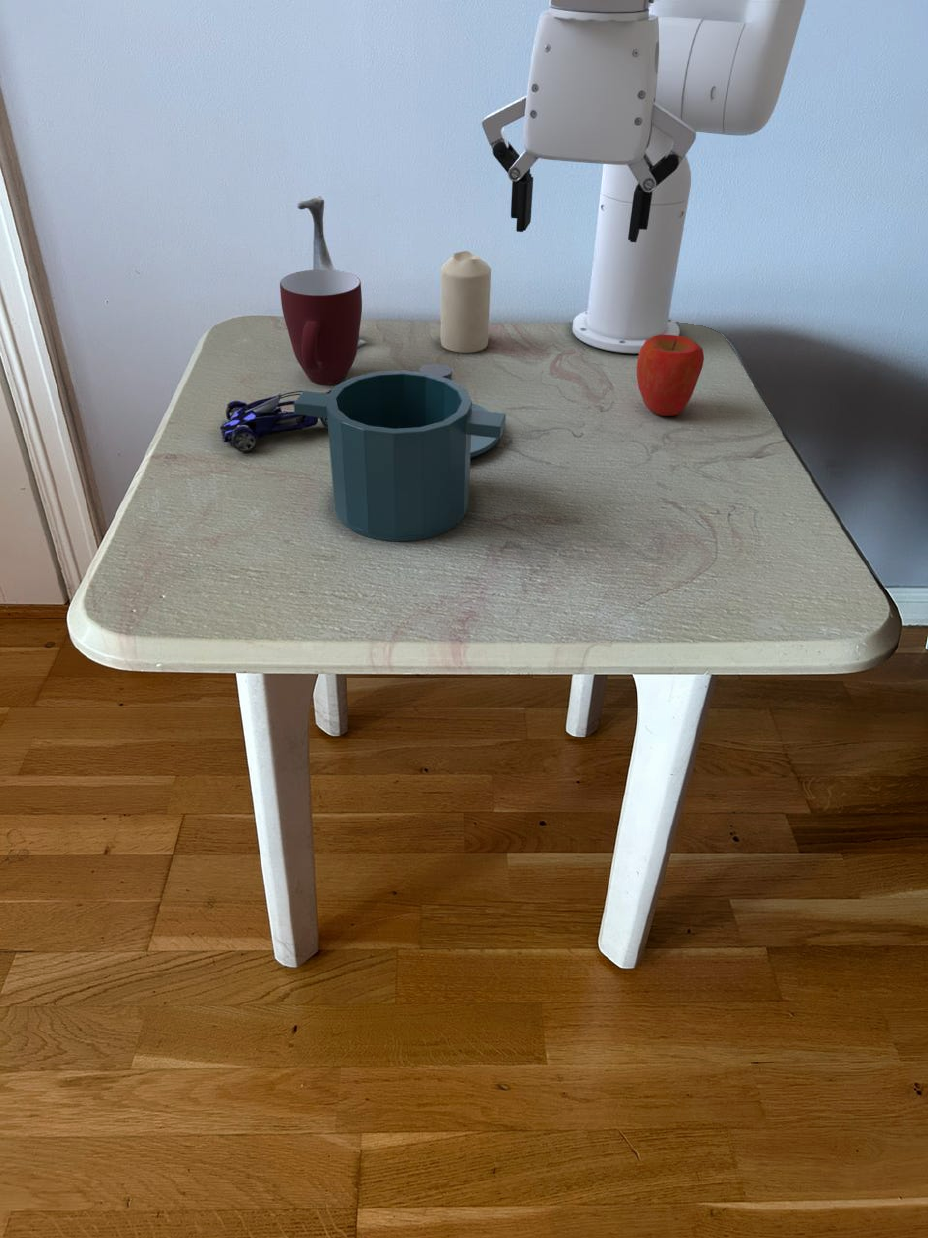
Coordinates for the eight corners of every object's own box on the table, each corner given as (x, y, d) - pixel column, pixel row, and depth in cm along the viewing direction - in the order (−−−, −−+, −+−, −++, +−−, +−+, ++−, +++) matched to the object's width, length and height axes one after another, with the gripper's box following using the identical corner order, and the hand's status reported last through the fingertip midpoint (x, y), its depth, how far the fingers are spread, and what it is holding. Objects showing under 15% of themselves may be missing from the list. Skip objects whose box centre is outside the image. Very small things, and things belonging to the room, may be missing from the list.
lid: (389, 401, 91) (387, 338, 87) (509, 415, 89) (513, 351, 85) (353, 458, 82) (349, 390, 77) (487, 475, 80) (490, 406, 76)
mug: (361, 404, 90) (356, 305, 84) (281, 403, 90) (269, 304, 84) (367, 362, 99) (363, 269, 92) (294, 361, 98) (285, 268, 92)
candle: (495, 349, 102) (499, 259, 96) (450, 355, 101) (451, 264, 94) (477, 332, 106) (480, 245, 100) (433, 338, 105) (433, 249, 98)
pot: (328, 461, 81) (320, 360, 75) (508, 484, 79) (515, 381, 73) (284, 526, 72) (271, 418, 67) (485, 554, 70) (490, 444, 64)
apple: (618, 408, 91) (628, 336, 86) (655, 392, 94) (667, 322, 90) (667, 430, 88) (681, 356, 83) (705, 412, 91) (720, 341, 86)
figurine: (373, 361, 99) (367, 217, 90) (315, 365, 98) (303, 220, 88) (358, 325, 107) (351, 190, 98) (304, 329, 106) (292, 192, 97)
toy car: (225, 455, 81) (218, 415, 79) (218, 424, 86) (212, 386, 84) (354, 440, 84) (352, 401, 82) (341, 411, 89) (339, 373, 87)
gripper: (719, -8, 68) (681, 228, 79) (497, -17, 71) (489, 212, 82) (717, 2, 62) (676, 255, 73) (476, -8, 65) (471, 236, 76)
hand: (577, 232), depth 78 cm, fingers open, 9 cm apart
